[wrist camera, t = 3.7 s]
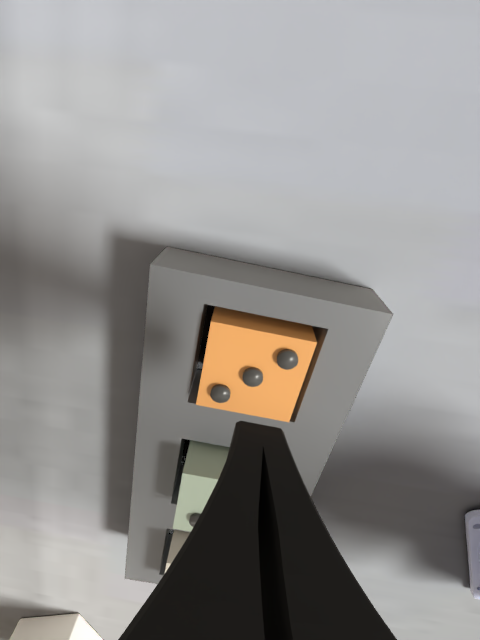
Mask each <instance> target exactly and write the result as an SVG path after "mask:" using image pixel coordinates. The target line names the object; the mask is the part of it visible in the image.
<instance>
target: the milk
mask: <svg viewBox="0 0 480 640" xmlns="http://www.w3.org/2000/svg"><path fill="white" fill-rule="evenodd" d="M9 640H103V639H102V638H101V637H100V635H99V634H98V633H97V632H96V631H95V630H94V629H93V628H92V627H91V626H90V625H89V624H88V623H87V621H86V620H85V619H84V618H83V617H82V616H81V615H80V614H79V613H77V614H66V615H54V616H43V617H31V618H21V619H20V620H19V622H18V624H17V626H16V628H15V630H14V632H13V633H12V635H11V637H10V639H9Z"/></svg>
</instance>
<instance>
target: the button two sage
mask: <svg viewBox="0 0 480 640" xmlns="http://www.w3.org/2000/svg"><path fill="white" fill-rule="evenodd" d="M229 448H230V447H225V446H220V445H215V444H209V443H204V442H198V441H193V440H190V444H189V448H188V452H187V456H186V461H185V465H184V469H183V473H182V479H181V484H180V490H179V496H178V501H177V507H176V513H175V518H174V524H173V529H178V530H184V531H189V532H191V531H192V529H193V527H194V525H195V524H196V522H197V520H198V518H199V516H200V515H201V513H202V511H203V509H204V507H205V505H206V503H207V501H208V499H209V497H210V495H211V493H212V491H213V489H214V487H215V485H216V483H217V481H218V479H219V477H220V474H221V472H222V470H223V467H224V465H225V462H226V460H227V456H228V452H229Z"/></svg>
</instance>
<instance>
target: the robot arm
mask: <svg viewBox="0 0 480 640" xmlns="http://www.w3.org/2000/svg"><path fill="white" fill-rule="evenodd" d="M465 525H466V538H467V550H468V563H469V575H470V588H471V592H472V594H473V597H474V598H476V599H480V509H479V510H473V511H469V512H468V513H467V514H466V515H465ZM119 640H397V639H396V638H395V636H394V635H393V633H392V632H391V631H390V629H389V628H388V626H387V625H386V624H385V622H384V621H383V619H382V618H381V617H380V615H379V614H378V612H377V611H376V609H375V608H374V606H373V605H372V603H371V602H370V600H369V599H368V597H367V596H366V594H365V593H364V591H363V589H362V588H361V586H360V585H359V583H358V582H357V580H356V579H355V577H354V575H353V574H352V572H351V570H350V569H349V567H348V565H347V564H346V562H345V560H344V559H343V557H342V555H341V554H340V552H339V550H338V549H337V547H336V545H335V543H334V541H333V540H332V538H331V536H330V534H329V532H328V530H327V528H326V527H325V525H324V523H323V521H322V519H321V517H320V515H319V513H318V511H317V509H316V507H315V505H314V503H313V501H312V499H311V497H310V495H309V493H308V490H307V488H306V486H305V484H304V482H303V480H302V477H301V475H300V473H299V471H298V468H297V466H296V463H295V461H294V459H293V456H292V454H291V451H290V448H289V446H288V443H287V440H286V438H285V435H284V432H283V430H282V429H281V428H277V427H272V426H267V425H261V424H256V423H251V422H246V421H239V422H236V425H235V429H234V432H233V436H232V440H231V444H230V448H229V452H228V456H227V460H226V462H225V465H224V467H223V470H222V472H221V474H220V477H219V479H218V481H217V483H216V485H215V487H214V489H213V491H212V493H211V495H210V497H209V499H208V501H207V503H206V505H205V507H204V509H203V511H202V513H201V515H200V516H199V518H198V520H197V522H196V524H195V525H194V527H193V529H192V531H191V532H190V534H189V536H188V537H187V539H186V541H185V542H184V544H183V546H182V547H181V549H180V551H179V552H178V554H177V555H176V557H175V558H174V560H173V562H172V563H171V565H170V566H169V568H168V569H167V571H166V573H165V574H164V576H163V577H162V579H161V580H160V582H159V583H158V585H157V586H156V588H155V589H154V591H153V592H152V593H151V595H150V596H149V598H148V599H147V600H146V602H145V603H144V605H143V606H142V607H141V609H140V610H139V612H138V613H137V614H136V616H135V617H134V619H133V620H132V622H131V623H130V624H129V626H128V627H127V629H126V630H125V631H124V633H123V634H122V635H121V637H120V638H119Z"/></svg>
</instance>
